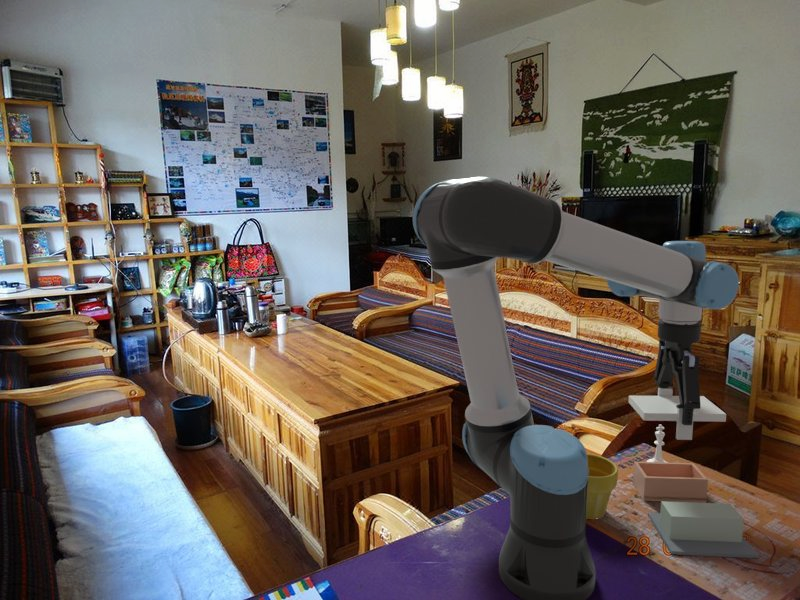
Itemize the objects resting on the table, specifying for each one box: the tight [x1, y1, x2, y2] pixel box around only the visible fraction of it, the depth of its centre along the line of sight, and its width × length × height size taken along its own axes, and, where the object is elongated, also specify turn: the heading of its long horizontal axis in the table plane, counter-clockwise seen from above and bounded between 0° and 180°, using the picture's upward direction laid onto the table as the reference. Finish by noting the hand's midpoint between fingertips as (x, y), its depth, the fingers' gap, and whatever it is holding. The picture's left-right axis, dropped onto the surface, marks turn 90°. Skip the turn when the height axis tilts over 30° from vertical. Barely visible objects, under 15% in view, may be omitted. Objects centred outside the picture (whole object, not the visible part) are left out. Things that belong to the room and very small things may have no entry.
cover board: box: [628, 395, 727, 423], centre depth 111 cm, size 15×10×2 cm, turn 84°
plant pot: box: [586, 453, 619, 520], centre depth 107 cm, size 10×10×10 cm
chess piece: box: [646, 424, 669, 463], centre depth 125 cm, size 5×5×10 cm
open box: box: [632, 461, 709, 503], centre depth 114 cm, size 12×7×5 cm, turn 84°
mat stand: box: [647, 501, 759, 559], centre depth 99 cm, size 14×12×5 cm
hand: (673, 427), depth 112 cm, fingers closed on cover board, 10 cm apart
